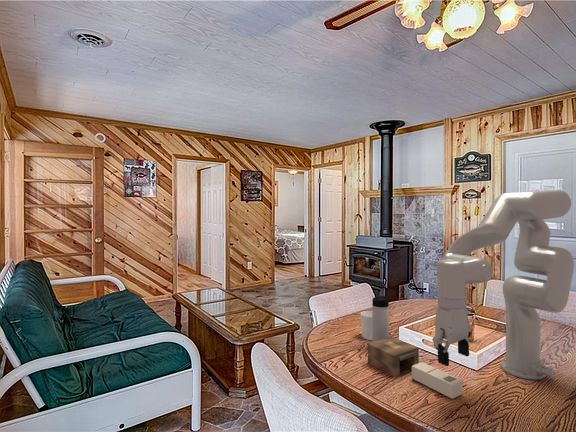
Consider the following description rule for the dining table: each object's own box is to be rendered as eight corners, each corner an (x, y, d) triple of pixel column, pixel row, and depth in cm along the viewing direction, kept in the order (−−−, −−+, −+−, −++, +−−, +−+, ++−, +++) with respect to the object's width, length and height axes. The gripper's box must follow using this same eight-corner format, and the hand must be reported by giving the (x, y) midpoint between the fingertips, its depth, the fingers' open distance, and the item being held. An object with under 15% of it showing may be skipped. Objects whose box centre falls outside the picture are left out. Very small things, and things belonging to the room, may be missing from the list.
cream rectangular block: (462, 393, 101) (462, 379, 101) (452, 398, 98) (452, 384, 98) (421, 374, 113) (421, 361, 113) (411, 378, 110) (411, 365, 110)
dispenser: (420, 368, 118) (420, 347, 117) (396, 378, 111) (395, 356, 111) (391, 355, 129) (391, 336, 128) (367, 363, 122) (367, 343, 122)
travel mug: (390, 351, 132) (390, 299, 131) (372, 350, 133) (372, 298, 133) (389, 344, 138) (389, 295, 137) (372, 343, 139) (372, 294, 139)
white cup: (359, 339, 144) (358, 315, 144) (362, 332, 151) (362, 310, 151) (378, 341, 141) (378, 317, 141) (380, 335, 148) (380, 312, 148)
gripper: (457, 293, 108) (459, 347, 109) (421, 305, 99) (423, 363, 100) (481, 299, 102) (483, 355, 103) (445, 311, 93) (447, 373, 94)
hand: (453, 359), depth 102 cm, fingers open, 9 cm apart
